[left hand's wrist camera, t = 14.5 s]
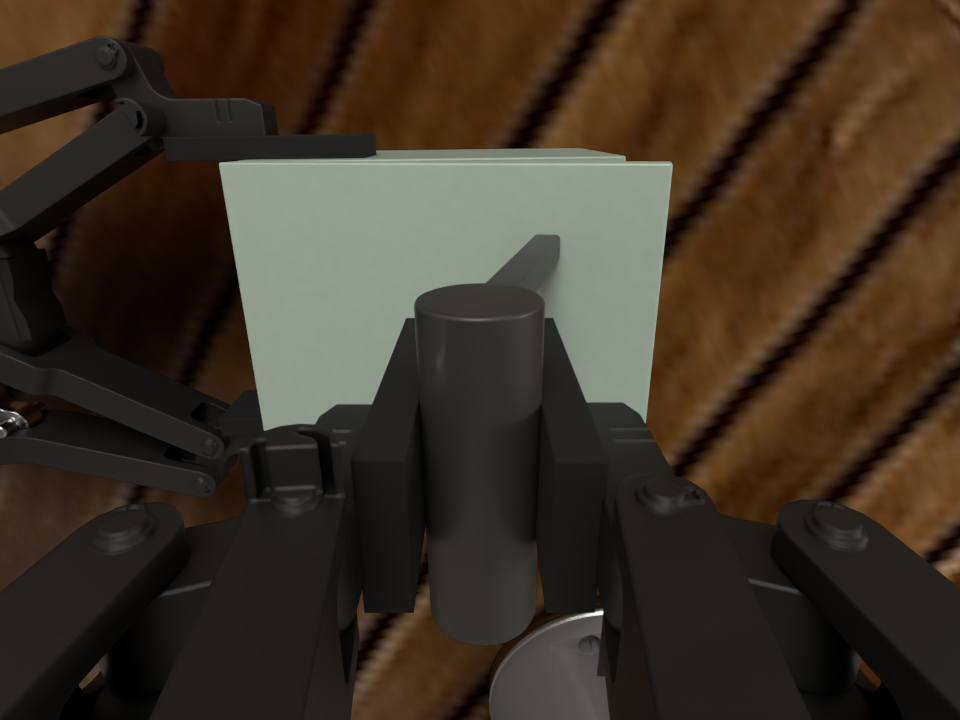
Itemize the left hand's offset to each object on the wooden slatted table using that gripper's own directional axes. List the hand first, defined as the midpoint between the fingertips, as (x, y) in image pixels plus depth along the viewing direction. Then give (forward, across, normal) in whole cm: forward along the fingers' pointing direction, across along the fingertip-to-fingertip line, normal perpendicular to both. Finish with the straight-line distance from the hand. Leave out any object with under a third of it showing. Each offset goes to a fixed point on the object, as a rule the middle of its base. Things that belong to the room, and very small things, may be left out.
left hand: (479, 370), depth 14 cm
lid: (+4, +1, 0) cm, 5 cm away
